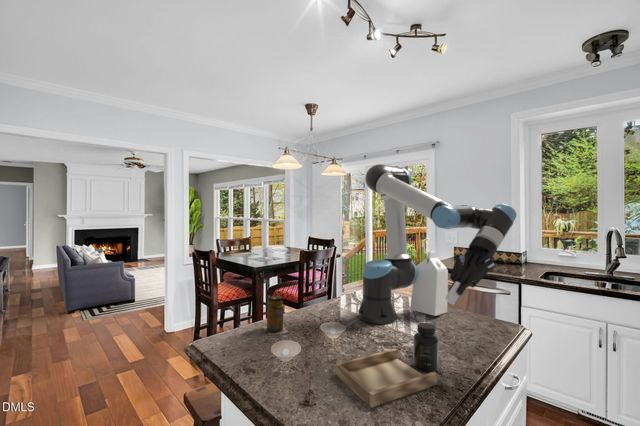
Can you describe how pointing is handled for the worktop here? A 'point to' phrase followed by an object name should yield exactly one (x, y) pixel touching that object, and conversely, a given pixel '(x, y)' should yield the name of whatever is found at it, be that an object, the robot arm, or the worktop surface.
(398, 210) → the robot arm
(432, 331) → the supplement bottle
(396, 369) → the tray
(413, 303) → the milk
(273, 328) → the condiment
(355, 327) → the worktop surface
